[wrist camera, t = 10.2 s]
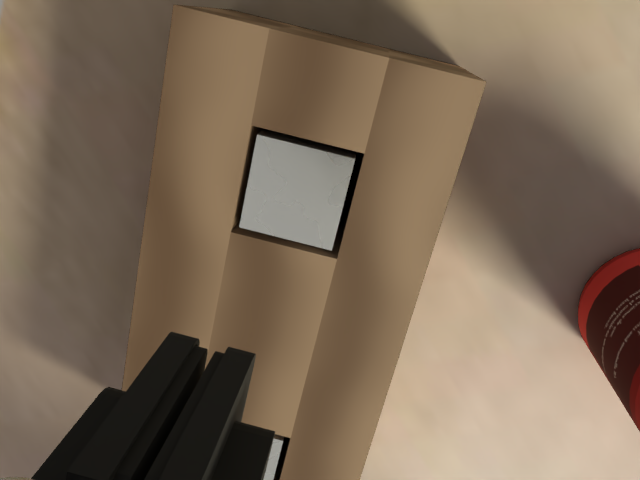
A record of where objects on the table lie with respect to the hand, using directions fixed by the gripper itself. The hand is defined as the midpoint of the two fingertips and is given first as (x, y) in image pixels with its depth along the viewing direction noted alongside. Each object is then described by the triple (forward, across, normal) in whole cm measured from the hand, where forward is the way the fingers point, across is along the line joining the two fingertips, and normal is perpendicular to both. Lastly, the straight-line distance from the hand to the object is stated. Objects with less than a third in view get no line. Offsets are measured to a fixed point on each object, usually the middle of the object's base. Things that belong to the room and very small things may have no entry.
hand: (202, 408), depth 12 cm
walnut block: (+23, 0, +6) cm, 24 cm away
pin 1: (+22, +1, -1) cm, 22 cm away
